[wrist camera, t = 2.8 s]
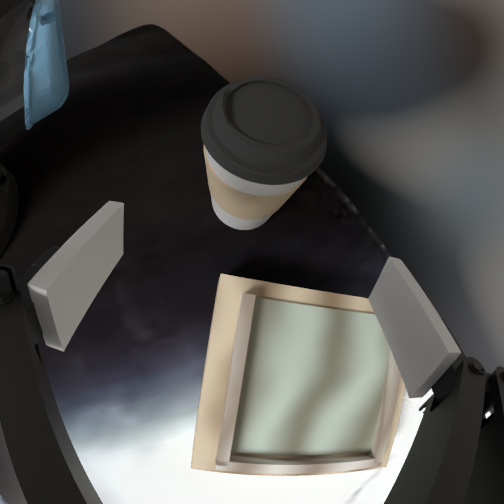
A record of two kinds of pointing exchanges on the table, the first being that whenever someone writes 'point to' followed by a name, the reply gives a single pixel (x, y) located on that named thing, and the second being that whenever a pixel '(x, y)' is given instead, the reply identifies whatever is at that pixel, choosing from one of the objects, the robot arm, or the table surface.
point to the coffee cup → (259, 148)
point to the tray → (295, 383)
